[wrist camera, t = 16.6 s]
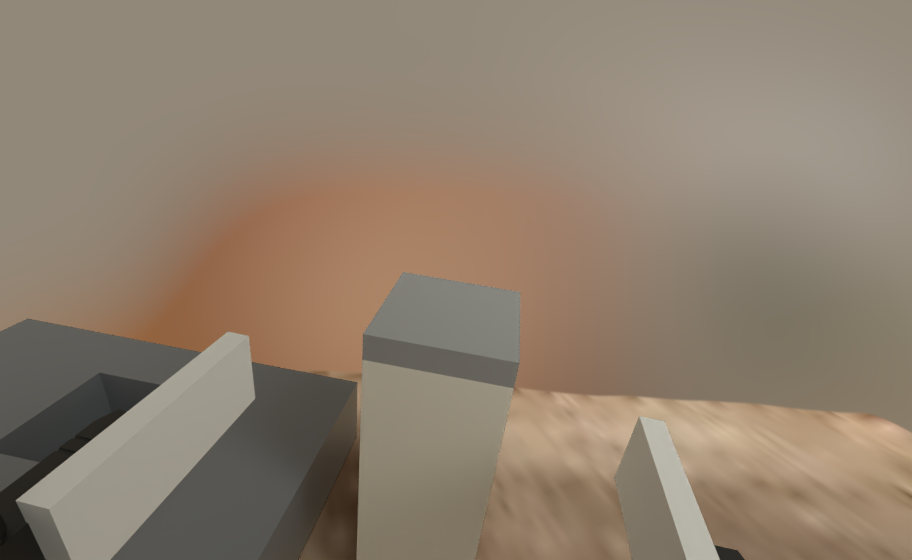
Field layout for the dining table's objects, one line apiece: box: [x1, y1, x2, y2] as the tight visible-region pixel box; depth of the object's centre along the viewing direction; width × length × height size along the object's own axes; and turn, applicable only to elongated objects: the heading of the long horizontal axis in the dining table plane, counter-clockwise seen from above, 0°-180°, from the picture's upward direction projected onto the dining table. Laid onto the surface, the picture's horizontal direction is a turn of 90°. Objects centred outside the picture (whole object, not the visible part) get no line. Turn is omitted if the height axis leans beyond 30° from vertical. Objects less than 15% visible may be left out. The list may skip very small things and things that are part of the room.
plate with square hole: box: [0, 319, 357, 560], centre depth 22 cm, size 22×12×4 cm, turn 82°
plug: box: [357, 272, 520, 560], centre depth 18 cm, size 5×5×14 cm
